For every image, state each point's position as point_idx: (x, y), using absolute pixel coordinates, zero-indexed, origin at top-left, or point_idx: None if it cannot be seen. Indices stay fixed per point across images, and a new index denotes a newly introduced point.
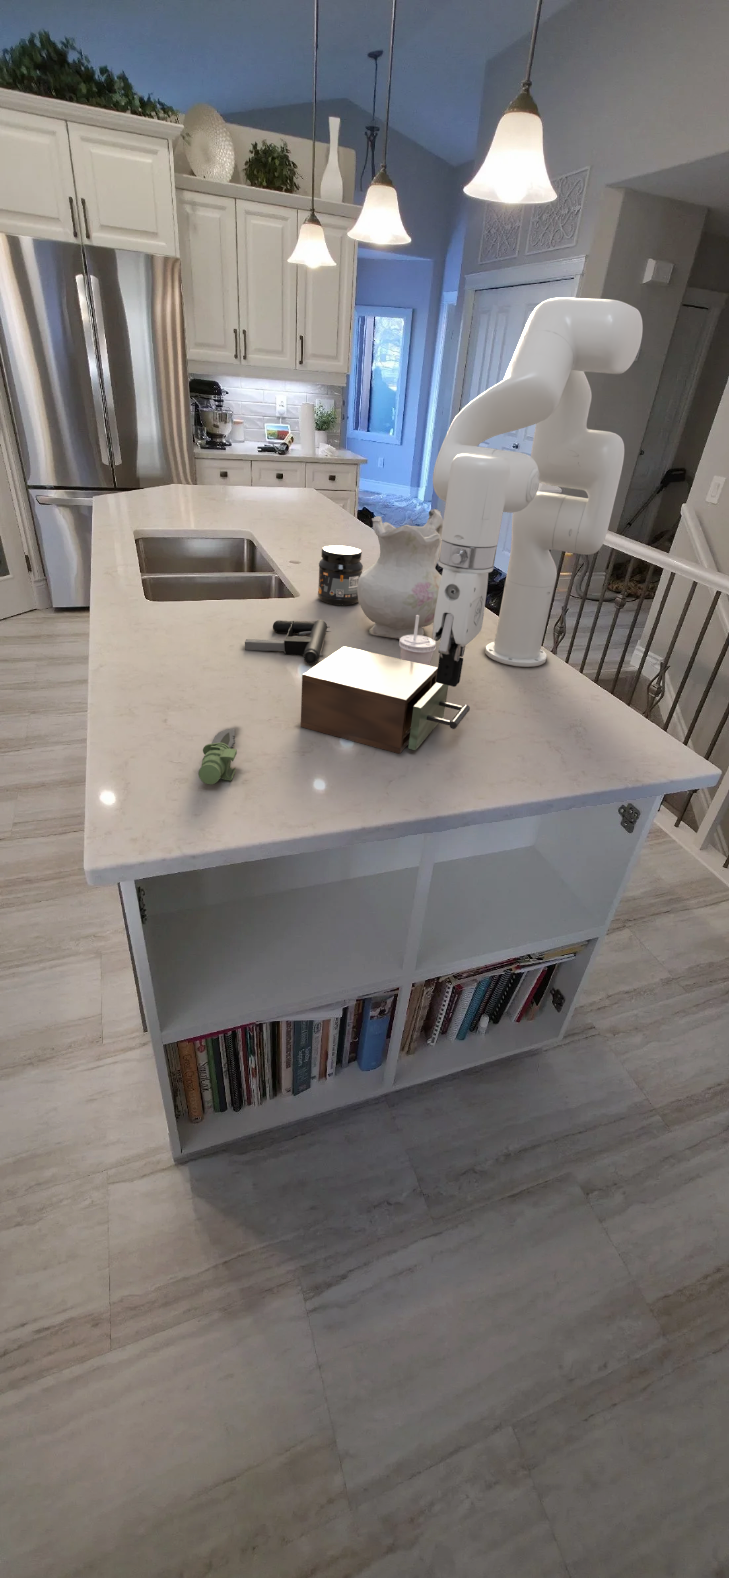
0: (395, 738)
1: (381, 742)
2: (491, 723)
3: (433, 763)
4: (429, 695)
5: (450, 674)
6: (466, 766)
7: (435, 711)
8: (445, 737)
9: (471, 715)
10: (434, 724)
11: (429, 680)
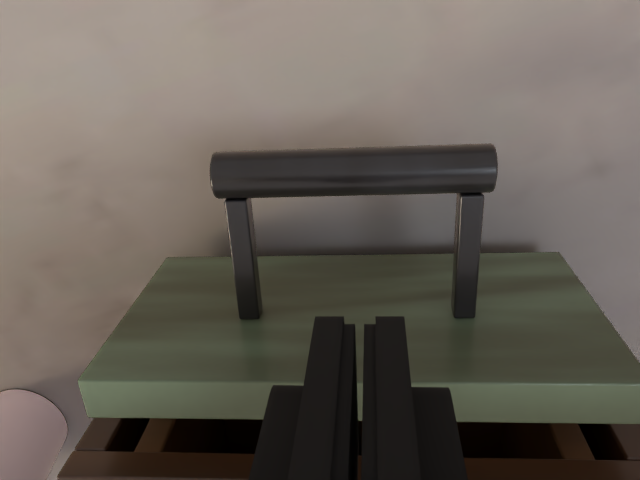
0: None
1: None
2: (23, 46)
3: (579, 151)
4: None
5: (453, 431)
6: (540, 4)
7: (316, 301)
8: None
9: (20, 160)
10: (307, 264)
11: (230, 457)
